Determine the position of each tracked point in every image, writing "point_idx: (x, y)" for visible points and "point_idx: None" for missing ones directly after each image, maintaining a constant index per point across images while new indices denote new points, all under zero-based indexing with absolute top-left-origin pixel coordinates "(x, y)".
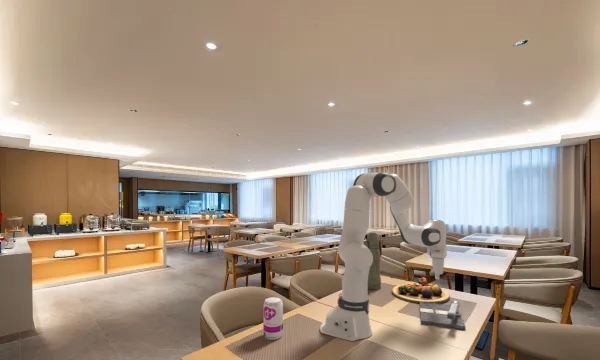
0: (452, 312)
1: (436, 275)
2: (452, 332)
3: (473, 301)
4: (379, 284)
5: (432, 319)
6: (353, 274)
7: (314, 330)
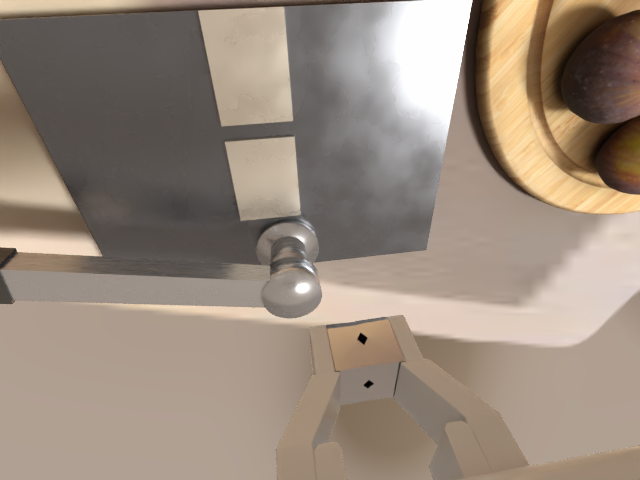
0: (30, 289)
1: (304, 399)
2: (35, 220)
3: (539, 297)
4: None
5: (85, 117)
6: None
7: None
